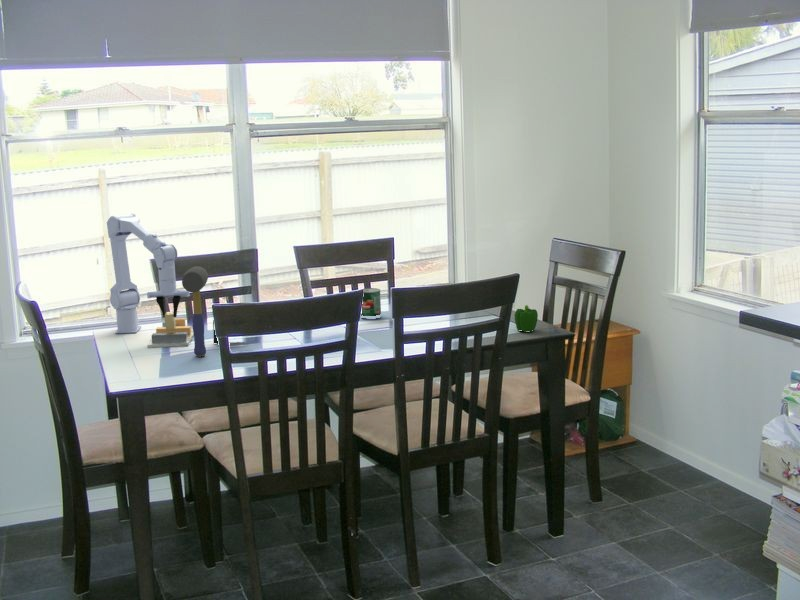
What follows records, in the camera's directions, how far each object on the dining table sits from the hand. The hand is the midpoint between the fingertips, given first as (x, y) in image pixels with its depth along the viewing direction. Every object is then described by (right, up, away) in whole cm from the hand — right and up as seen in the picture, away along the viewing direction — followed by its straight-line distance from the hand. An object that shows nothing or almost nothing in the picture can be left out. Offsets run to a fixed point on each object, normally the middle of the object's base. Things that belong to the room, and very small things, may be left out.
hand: (170, 316), depth 331 cm
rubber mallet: (+15, -13, -21) cm, 29 cm away
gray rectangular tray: (0, -8, +5) cm, 9 cm away
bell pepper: (+127, -5, +3) cm, 128 cm away
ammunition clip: (+22, -9, -3) cm, 24 cm away
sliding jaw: (-1, -6, +11) cm, 12 cm away
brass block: (0, -5, +1) cm, 5 cm away
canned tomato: (+71, -1, +31) cm, 77 cm away
